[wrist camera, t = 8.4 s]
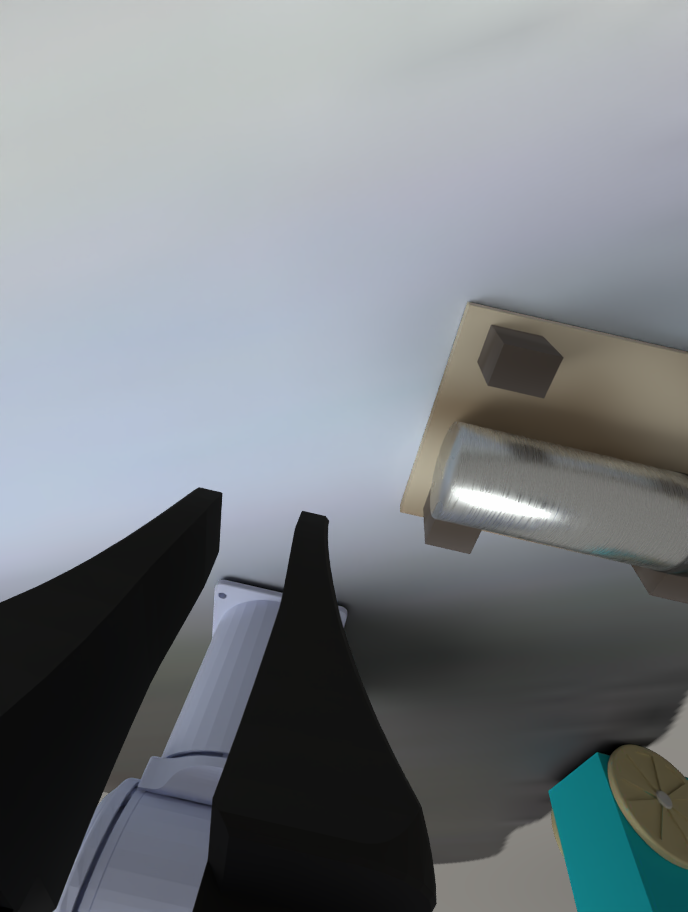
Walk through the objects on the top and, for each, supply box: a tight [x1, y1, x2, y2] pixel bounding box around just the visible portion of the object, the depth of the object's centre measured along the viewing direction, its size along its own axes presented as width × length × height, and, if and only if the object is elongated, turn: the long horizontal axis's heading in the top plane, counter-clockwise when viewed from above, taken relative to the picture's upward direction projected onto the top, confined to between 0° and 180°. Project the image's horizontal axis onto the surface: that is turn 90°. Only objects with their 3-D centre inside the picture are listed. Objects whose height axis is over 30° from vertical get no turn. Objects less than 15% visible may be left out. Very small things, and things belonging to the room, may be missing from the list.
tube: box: [430, 421, 688, 578], centre depth 18 cm, size 14×4×4 cm
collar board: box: [400, 302, 688, 604], centre depth 18 cm, size 10×14×4 cm
